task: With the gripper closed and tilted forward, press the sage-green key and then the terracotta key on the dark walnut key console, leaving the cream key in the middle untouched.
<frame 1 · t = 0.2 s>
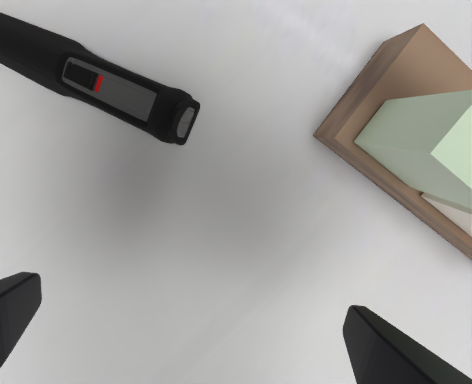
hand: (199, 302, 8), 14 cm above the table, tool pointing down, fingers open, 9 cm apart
key console: (435, 164, 23), on the table
sage key: (437, 150, 15), point 8 cm above the table, slide at 0.0 cm
electric trimmer: (94, 82, 20), on the table
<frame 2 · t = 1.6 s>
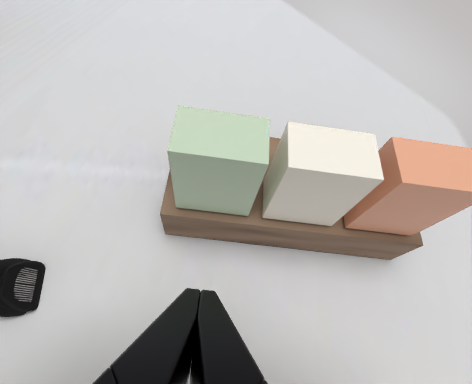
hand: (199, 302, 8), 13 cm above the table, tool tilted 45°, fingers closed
key console: (281, 203, 26), on the table
sage key: (217, 168, 18), point 8 cm above the table, slide at 0.0 cm
terracotta key: (402, 192, 18), point 8 cm above the table, slide at 0.0 cm
cream key: (312, 180, 18), point 8 cm above the table, slide at 0.0 cm
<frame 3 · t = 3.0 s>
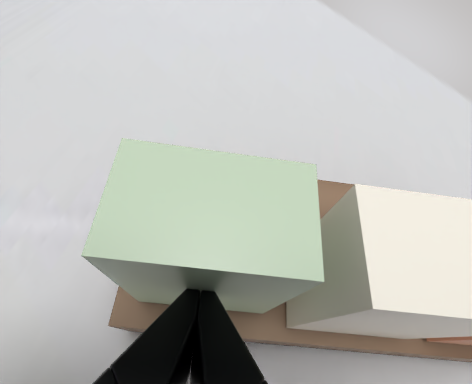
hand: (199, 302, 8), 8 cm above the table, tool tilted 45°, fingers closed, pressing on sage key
key console: (307, 271, 17), on the table
sage key: (209, 247, 9), point 8 cm above the table, slide at 0.5 cm, touching gripper
cream key: (385, 279, 10), point 8 cm above the table, slide at 0.0 cm
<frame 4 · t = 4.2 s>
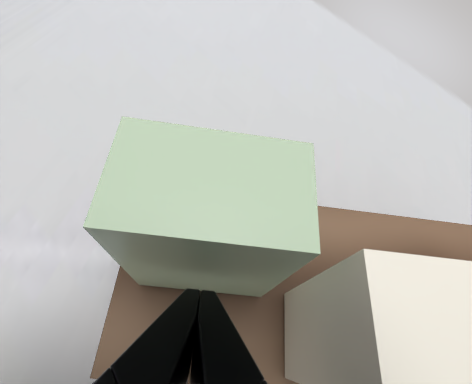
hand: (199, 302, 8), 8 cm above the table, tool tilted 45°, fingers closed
key console: (306, 300, 16), on the table
sage key: (208, 228, 10), point 8 cm above the table, slide at 2.8 cm
cream key: (394, 337, 9), point 8 cm above the table, slide at 0.0 cm
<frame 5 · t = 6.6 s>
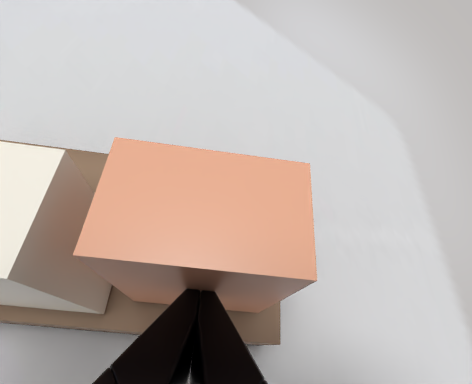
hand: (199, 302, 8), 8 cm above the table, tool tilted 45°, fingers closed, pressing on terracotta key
key console: (98, 251, 16), on the table
terracotta key: (203, 246, 9), point 8 cm above the table, slide at 0.6 cm, touching gripper
cream key: (4, 242, 9), point 8 cm above the table, slide at 0.0 cm
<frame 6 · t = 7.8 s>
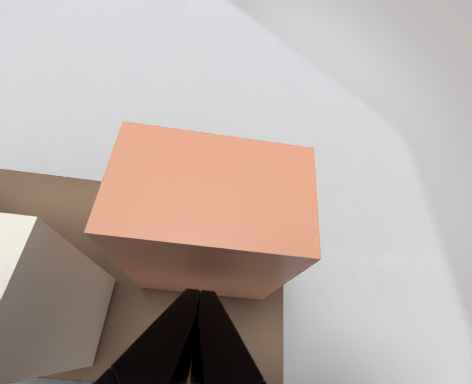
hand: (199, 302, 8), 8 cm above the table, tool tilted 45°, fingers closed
key console: (90, 280, 15), on the table
terracotta key: (208, 232, 10), point 8 cm above the table, slide at 2.8 cm
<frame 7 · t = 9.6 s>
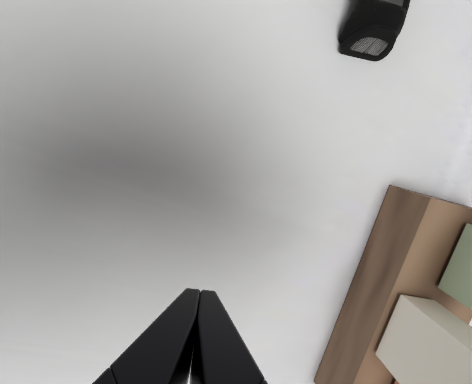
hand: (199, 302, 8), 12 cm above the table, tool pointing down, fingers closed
key console: (387, 296, 25), on the table
cream key: (443, 363, 18), point 8 cm above the table, slide at 0.0 cm
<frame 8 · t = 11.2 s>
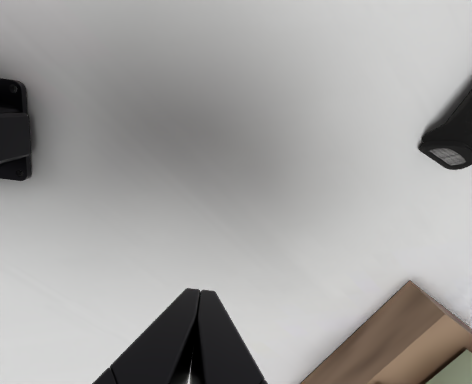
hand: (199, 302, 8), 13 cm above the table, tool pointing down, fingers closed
key console: (362, 374, 26), on the table
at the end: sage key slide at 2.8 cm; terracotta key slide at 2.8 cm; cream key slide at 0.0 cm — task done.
